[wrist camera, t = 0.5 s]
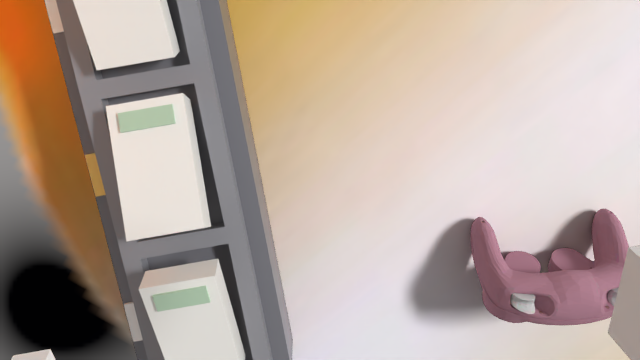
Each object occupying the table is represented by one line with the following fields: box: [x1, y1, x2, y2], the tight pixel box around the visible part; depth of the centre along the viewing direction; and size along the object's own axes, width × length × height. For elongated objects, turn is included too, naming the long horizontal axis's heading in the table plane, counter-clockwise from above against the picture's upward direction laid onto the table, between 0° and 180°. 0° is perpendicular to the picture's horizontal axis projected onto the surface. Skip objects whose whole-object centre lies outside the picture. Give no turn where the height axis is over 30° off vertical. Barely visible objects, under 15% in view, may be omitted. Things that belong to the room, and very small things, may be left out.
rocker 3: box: [139, 259, 245, 360], centre depth 29 cm, size 7×4×2 cm, turn 10°
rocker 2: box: [106, 93, 211, 242], centre depth 27 cm, size 7×4×2 cm, turn 10°
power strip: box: [44, 0, 293, 360], centre depth 31 cm, size 28×9×5 cm, turn 10°
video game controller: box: [470, 209, 629, 325], centre depth 33 cm, size 10×5×7 cm, turn 93°
